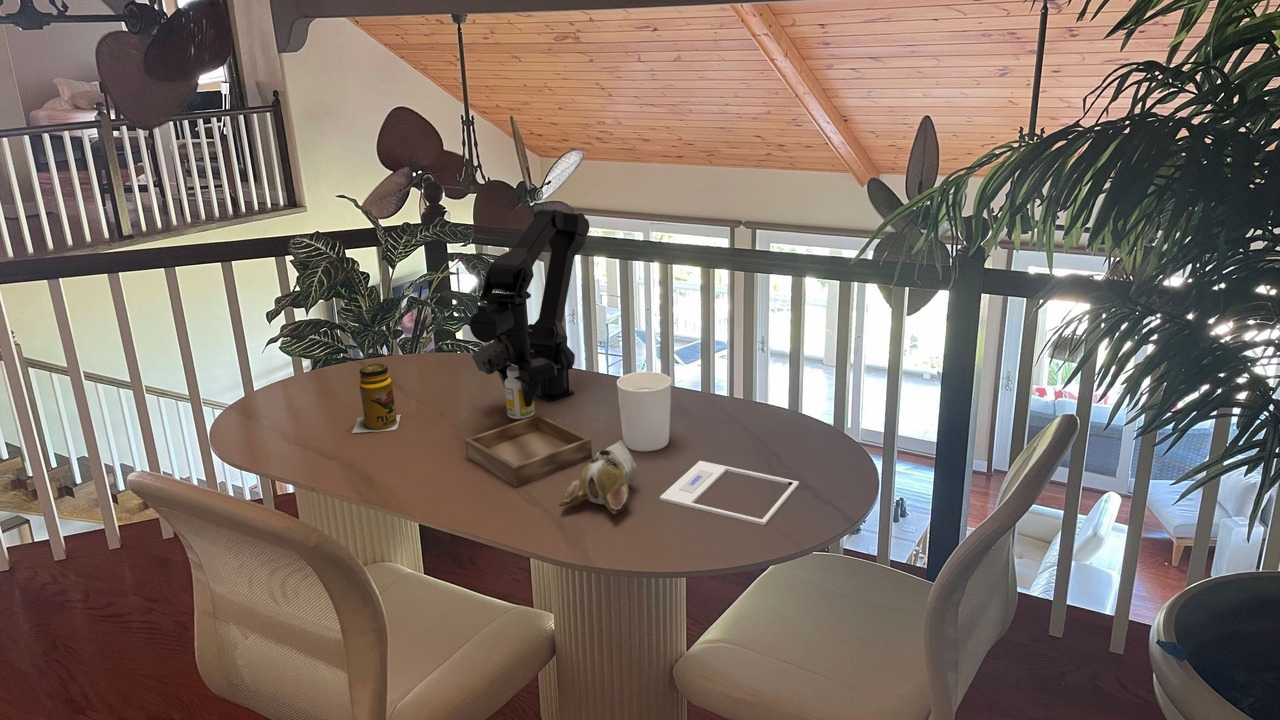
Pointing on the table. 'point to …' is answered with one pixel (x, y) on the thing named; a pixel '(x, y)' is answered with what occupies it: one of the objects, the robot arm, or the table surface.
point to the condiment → (376, 400)
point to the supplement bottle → (516, 396)
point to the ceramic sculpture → (604, 479)
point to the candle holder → (645, 410)
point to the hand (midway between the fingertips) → (520, 402)
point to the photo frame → (707, 475)
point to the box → (528, 449)
